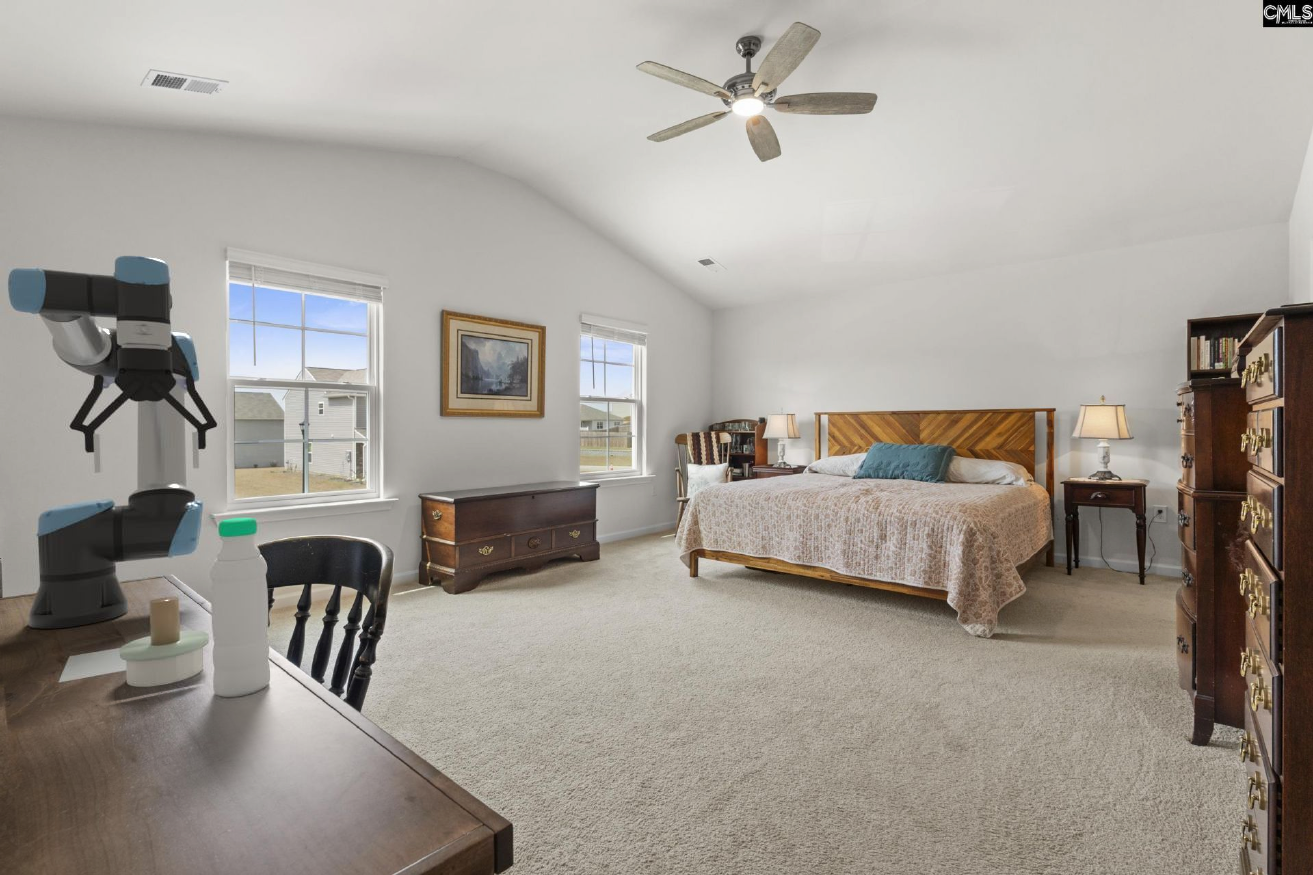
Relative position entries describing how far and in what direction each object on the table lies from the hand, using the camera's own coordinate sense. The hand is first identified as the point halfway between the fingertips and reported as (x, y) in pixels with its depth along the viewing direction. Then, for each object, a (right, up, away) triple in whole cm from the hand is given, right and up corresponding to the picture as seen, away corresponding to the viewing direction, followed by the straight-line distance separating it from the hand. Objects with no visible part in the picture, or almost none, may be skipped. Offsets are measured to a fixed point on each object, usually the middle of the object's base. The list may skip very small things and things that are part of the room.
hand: (148, 470), depth 116 cm
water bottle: (+28, -31, -19) cm, 46 cm away
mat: (+1, -31, -7) cm, 32 cm away
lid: (+13, -27, -14) cm, 33 cm away
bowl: (+13, -31, -14) cm, 37 cm away
